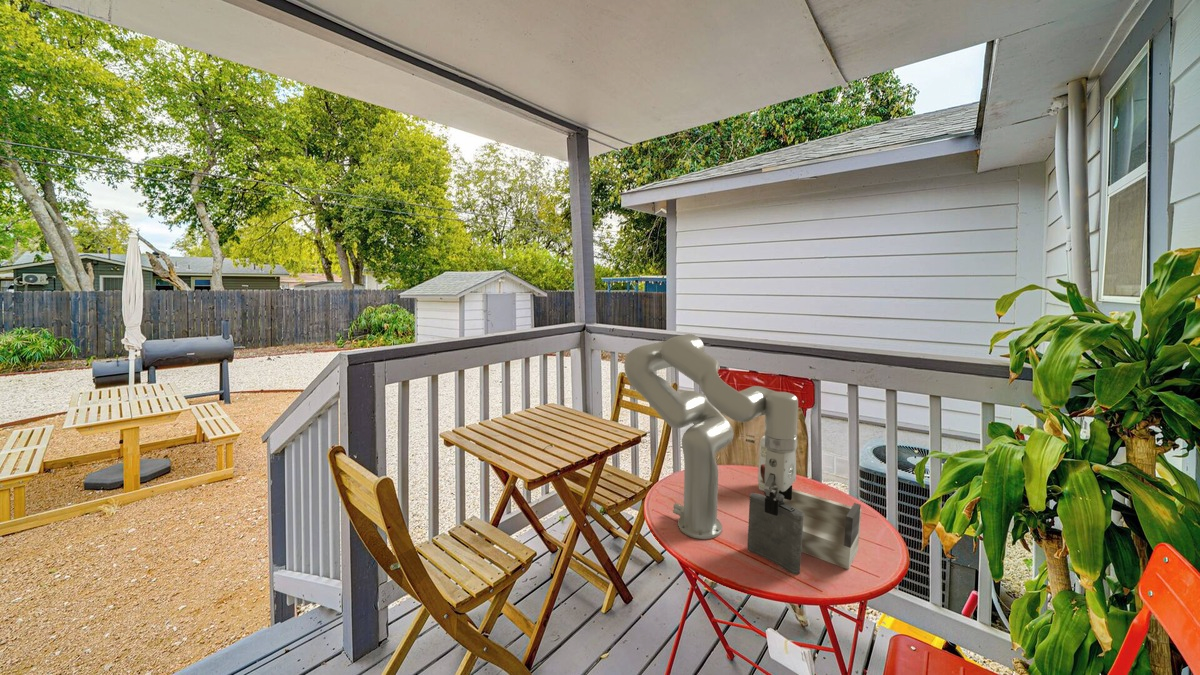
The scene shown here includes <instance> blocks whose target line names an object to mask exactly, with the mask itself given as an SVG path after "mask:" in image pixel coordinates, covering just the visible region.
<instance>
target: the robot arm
mask: <svg viewBox="0 0 1200 675" xmlns="http://www.w3.org/2000/svg"><path fill="white" fill-rule="evenodd" d="M623 366H624V373H625V376H626V378H627V381H628V382H629V384H630V385H631V386H632V387H633V389H634V390H636V392H637V393H639V394H640V395H641V396H642V397H643V398H644V399H645V400H646V401H647V403H648V404H649V405H650V407H651V408H653V409H654V410H655V412H656V413H657V414H658V415H659V416H660V417H661V418H662V420H663V421H664V422H665V423H666V424H667V425H668V426H669V427H670V428H673V429H682V428H684V427H687V426H689V425H690V426H689V427H688V428H687V429H686V430H685V431H684V432H683V435H682V438H681V448H682V453H683V462H684V465H683V466H684V470H683V472H684V477H683V478H684V480H683V481H684V482H683V484H684V485H683V488H684V489H683V505H682V504H680V503H677V502H675V503H674V504H673V507H672V508H673V509H672V513H673V514H675V515H678V516H679V517H678V520H677V525H678V526H679V527H678V529H679V528H680V529H679V530H680V532H682V533H683V534H684V535H686V536H687V537H691V538H694V539H698V540H709V539H710V540H711V539H714V538H716V537H718V536H719V535H721V533H722V532H723V524H722V522H721V521H720V520H719V519H718V498H719V497H718V496H719V495H718V494H719V493H718V491H719V489H718V488H719V467H718V464H717V460H716V454H717V453H718V452H720V451H721V450H723V449H724V448H726V447H727V446H728V445H730V444H731V443H732V441H733V438H734V428H733V427H732V424H731V423H730V421H729V420H728V419H727V418H729V419H731V420H733V421H735V422H739V423H747V422H750V421H752V420H754V419H756V418H757V417H762V416H765V418H764V435H765V447H766V448H767V454H766V463H765V486H764V491H765V492H764V491H763V493H764V496H765V512H766V513H769V514H772V515H775V516H777V515H778V509H779V500H777V498H778V494H779V493H780V494H782V495H784V499H787V500H791V499H792V489H793V484H794V483H795V482H796V480H797V452H796V451H797V448H798V423H799V422H798V420H799V399H798V397H797V396H796V395H795V394H793V393H792V392H791V393H790V392H787V391H776V390H773V389H770V388H766V387H764V386H761V385H760V386H759V385H752V386H749V387H747V388H745V389H741V390H740V391H738V390H737V389H735V388H734V387H732V386H730V385H729V384H727V383H726V382H725V381H724V380H723V379H722V378H721V377H720V375H719V369H720V363H719V361H718V360H717V359H716V358H715V357H713V356H711V355H710V354H708V353H706V352H705V345H704V342H703V341H702V339H701V338H700V337H698V336H697V335H695V334H690V333H688V334H682V335H678V336H672V337H671V338H668V339H667V340H663V341H660V342H654V343H650V344H645V345H641V346H638V347H635V348H633V349H631V350H630V351H629V352H628V353H627V355H626V356H625V358H624V364H623ZM670 367H672V368H674V369H675V370H677V371H679V372H680V373H681V374H682V375H683V376H686V377H687V378H688V379H690V380H691V381H692V382H694V383H695V384H697V385H698V386H699V387H700V389H701V390H700V391H701V392H702V393H703V394H702V393H700V392H697V391H695V390H687V391H683V392H679V391H677V390H676V389H675V388H673V387H672V385H671V384H670V383H669V382H668V381H667V380H666V379H665V378H663V377H661V376H659V375H657V374H655V373H654V372H656V371H660V370H663V369H667V368H670ZM726 417H727V418H726ZM772 485H776V486H777V487H774V486H772ZM771 489H772V490H775V495H774V494H773V492H771V491H772V490H771Z"/></svg>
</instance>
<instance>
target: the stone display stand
mask: <svg viewBox="0 0 1200 675" xmlns="http://www.w3.org/2000/svg"><path fill="white" fill-rule="evenodd" d="M783 502H784V503H786V504H787V505H789V506H791V507H794V508H796V509H798V510H799V511H801V512H803V513H804V519H803V534H802V549H801V553H804V554H807V555H808V556H811V557H814V558H815V559H816V558H817V559H820V560H821V561H825V562H827V563H829V564H833V565H835V566H838V567H841V568H844V569H845V570H850V567H851V566H852V564H853V562H854V560H855V557H856V556H857V554H858V552H859V541H860V532H861V531H860V529H861V521H862V520H861V519H862V518H861V517H862V516H861V515H862V508H861V506H862V505H861V504H859V503H856V502H854V503H853V504H852V506H851V505H847V504H844V503H841V502H838V501H834V500H830V499H827V498H824V497H821V496H818V495H814V494H812V493H811V494H810V493H807V492H804V491H801V490H797V489H794V488H792V499H791V500H787V499H784V500H783Z"/></svg>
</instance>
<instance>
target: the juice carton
mask: <svg viewBox="0 0 1200 675" xmlns="http://www.w3.org/2000/svg"><path fill="white" fill-rule="evenodd" d="M758 452H759V454H758V476H757V482H758V490H759V491H762V492H763V493H764V492H765V491H764V486H765V463H766V454H767V448H766V447H765V434H764V435H763V436H761V438H760V440H759V451H758ZM772 486H774V487H777V486H776V485H772ZM771 490H772V489H771ZM771 492H773V493H775V490H772V491H771Z"/></svg>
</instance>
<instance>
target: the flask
mask: <svg viewBox="0 0 1200 675" xmlns="http://www.w3.org/2000/svg"><path fill="white" fill-rule="evenodd" d="M773 494H774V495H775V493H773ZM777 500H779V509H778V515H777V516H775V515H772V514H769V513H766V512H765V494H764V495H763V494H760V493H757V492H751V493H750V494H749V503H748V504H749V506H748V507H749V509H748V525H747V526H748V528H747V529H748V530H747V531H748V532H747V551H748V552H750V553H752V554H754V555H757V556H758V557H761V558H764V559H766V560H768V561H769V562H771V563H772V564H775V565H777V566H779V567H780V568H782V569H784V570H785V571H787V573H790V574H791V575H794V576H795V575H797V576H798V575H800V574H801V563H802V562H801V561H802V552H801V549H802V534H803V519H804V513H803V512H801V511H799V510H798V509H796V508H794V507H791V506H789V505H787V504H786V503H784V502H783V500H784V495H782V494H780V493H779V494H778V498H777Z"/></svg>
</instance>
